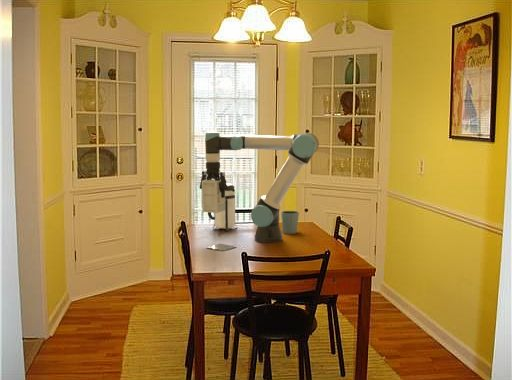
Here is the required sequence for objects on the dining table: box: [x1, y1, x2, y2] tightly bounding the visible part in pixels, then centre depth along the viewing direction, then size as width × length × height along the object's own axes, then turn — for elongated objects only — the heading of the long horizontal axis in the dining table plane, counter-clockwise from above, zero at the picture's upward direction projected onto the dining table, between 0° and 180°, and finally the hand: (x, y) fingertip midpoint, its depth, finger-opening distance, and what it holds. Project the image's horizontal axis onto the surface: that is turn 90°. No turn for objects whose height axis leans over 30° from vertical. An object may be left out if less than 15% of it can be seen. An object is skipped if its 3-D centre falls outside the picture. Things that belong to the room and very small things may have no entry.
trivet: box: [206, 243, 237, 252], centre depth 306 cm, size 11×11×1 cm
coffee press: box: [207, 180, 238, 232], centre depth 352 cm, size 17×16×30 cm
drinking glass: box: [280, 210, 300, 235], centre depth 344 cm, size 10×10×12 cm
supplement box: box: [201, 179, 225, 214], centre depth 314 cm, size 10×9×17 cm
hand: (213, 203), depth 315 cm, fingers closed on supplement box, 10 cm apart
